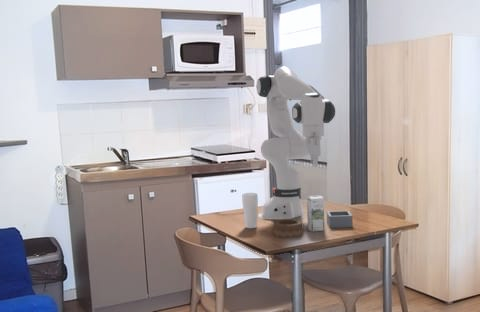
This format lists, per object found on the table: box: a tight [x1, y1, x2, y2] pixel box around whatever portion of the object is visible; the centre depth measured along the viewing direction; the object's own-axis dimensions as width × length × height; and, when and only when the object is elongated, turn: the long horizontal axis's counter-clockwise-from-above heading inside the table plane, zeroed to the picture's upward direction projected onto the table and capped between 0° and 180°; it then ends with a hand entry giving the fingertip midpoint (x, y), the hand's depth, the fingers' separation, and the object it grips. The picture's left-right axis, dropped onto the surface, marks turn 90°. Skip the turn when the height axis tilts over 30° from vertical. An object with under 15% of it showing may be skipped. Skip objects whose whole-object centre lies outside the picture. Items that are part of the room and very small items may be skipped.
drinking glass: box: [241, 192, 259, 229], centre depth 225 cm, size 7×7×15 cm
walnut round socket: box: [273, 218, 304, 239], centre depth 211 cm, size 12×12×5 cm
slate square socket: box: [326, 210, 354, 229], centre depth 223 cm, size 10×10×5 cm
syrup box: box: [306, 195, 325, 233], centre depth 215 cm, size 6×6×14 cm
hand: (314, 164), depth 213 cm, fingers open, 8 cm apart
